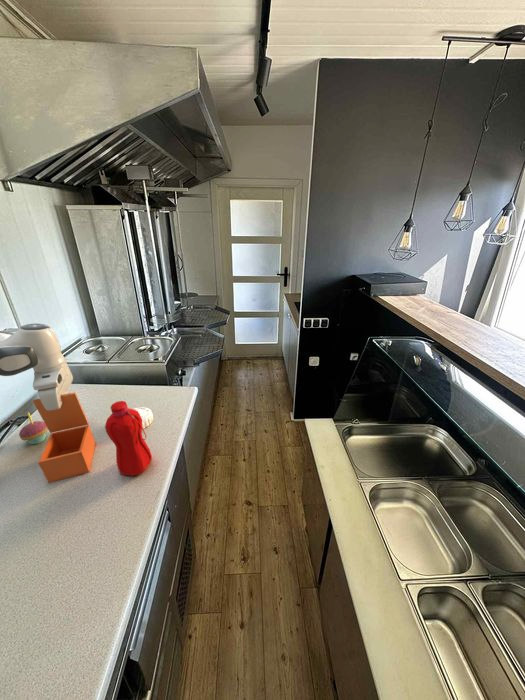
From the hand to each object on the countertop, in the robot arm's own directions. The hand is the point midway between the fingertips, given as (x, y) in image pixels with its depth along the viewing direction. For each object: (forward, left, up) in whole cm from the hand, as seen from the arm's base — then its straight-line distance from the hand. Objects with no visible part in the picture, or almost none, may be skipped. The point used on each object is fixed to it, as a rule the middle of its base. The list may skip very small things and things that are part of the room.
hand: (66, 405), depth 99 cm
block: (0, -14, -15) cm, 21 cm away
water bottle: (+21, -21, -16) cm, 34 cm away
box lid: (0, -5, 0) cm, 5 cm away
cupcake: (-15, +6, -16) cm, 23 cm away
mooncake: (+20, +3, -16) cm, 26 cm away
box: (0, -11, -16) cm, 19 cm away
